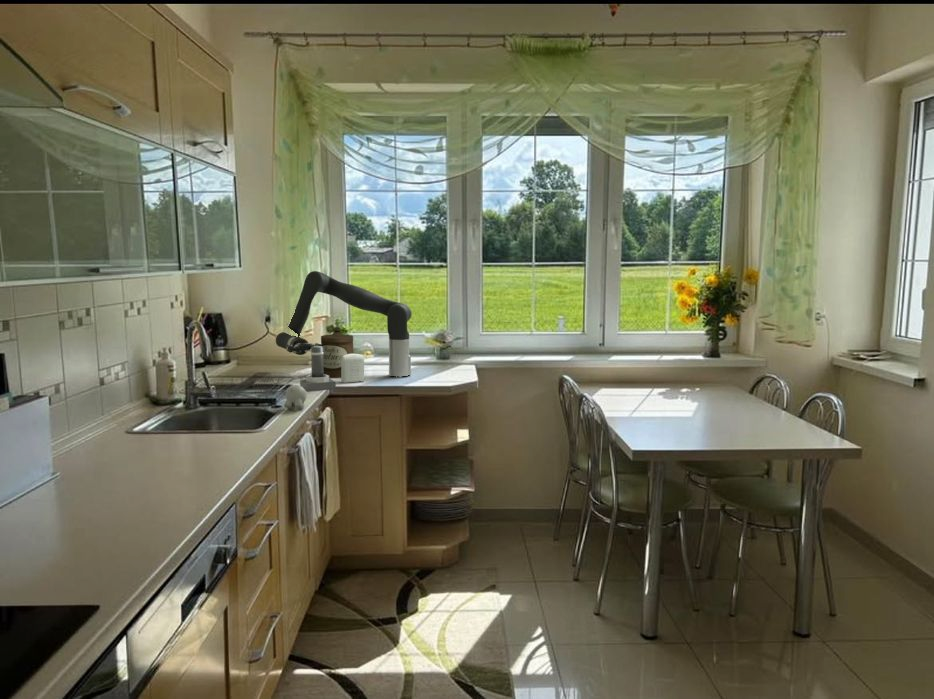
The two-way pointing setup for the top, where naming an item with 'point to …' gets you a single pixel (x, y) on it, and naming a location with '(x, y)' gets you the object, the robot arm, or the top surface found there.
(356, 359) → the photo printer
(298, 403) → the chubby cartoon animal
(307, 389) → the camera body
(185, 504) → the top surface
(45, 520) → the top surface
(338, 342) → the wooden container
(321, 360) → the grey bottle
